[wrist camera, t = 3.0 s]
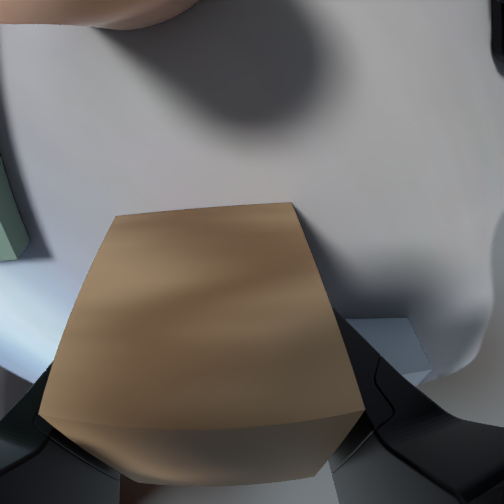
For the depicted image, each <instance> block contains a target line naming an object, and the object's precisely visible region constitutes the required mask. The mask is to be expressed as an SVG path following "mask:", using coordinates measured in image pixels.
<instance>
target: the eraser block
mask: <svg viewBox="0 0 504 504" xmlns="http://www.w3.org/2000/svg"><path fill="white" fill-rule="evenodd" d="M345 320H346V321H347V322H348V323H350V324H351V325H352V326H353V327H354V328H355V329H356V330H357V331H358V332H359V333H360V334H361V335H362V336H363V337H364V338H365V339H366V340H367V341H368V342H369V343H370V344H371V345H372V346H373V347H374V348H375V349H376V351H377V352H378V353H379V354H380V356H383V357H384V358H385V359H386V360H387V361H388V362H389V363H390V364H391V365H392V366H393V367H394V368H395V369H396V370H397V371H398V372H399V373H400V374H401V375H402V376H403V377H404V378H406V379H407V380H408V381H409V382H410V383H411V384H413V385H414V386H415V387H416V386H417V385H418V384H419V383H420V382H421V381H422V380H423V379H424V378H425V377H426V376H427V375H428V374H429V373H430V372H431V371H432V370H433V369H432V367H431V365H430V363H429V361H428V358H427V356H426V354H425V352H424V350H423V348H422V346H421V344H420V342H419V340H418V338H417V336H416V334H415V332H414V330H413V328H412V326H411V324H410V322H409V320H408V318H374V319H345Z"/></svg>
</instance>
